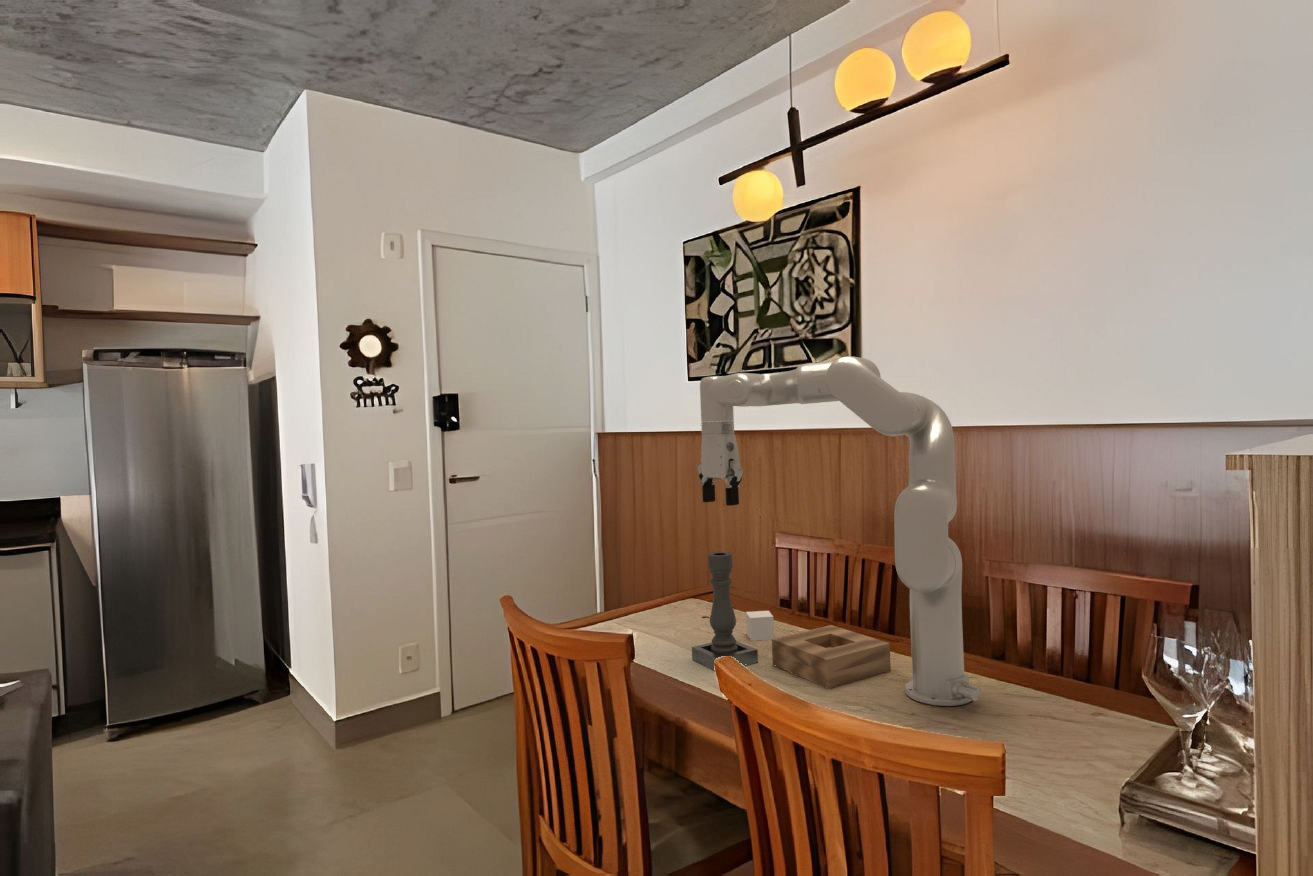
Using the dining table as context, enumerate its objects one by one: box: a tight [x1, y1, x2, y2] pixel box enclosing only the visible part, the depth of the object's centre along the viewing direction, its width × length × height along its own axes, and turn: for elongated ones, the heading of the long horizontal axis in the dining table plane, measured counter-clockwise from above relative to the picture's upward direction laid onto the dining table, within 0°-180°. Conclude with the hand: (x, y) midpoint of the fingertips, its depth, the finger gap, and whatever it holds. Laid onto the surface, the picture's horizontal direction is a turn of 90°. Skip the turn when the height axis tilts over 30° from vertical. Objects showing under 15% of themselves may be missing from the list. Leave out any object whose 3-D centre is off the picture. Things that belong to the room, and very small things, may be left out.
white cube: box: [745, 610, 775, 642], centre depth 184 cm, size 6×6×6 cm
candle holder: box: [707, 551, 738, 656], centre depth 166 cm, size 6×6×25 cm
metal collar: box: [691, 640, 759, 671], centre depth 166 cm, size 11×11×3 cm
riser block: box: [771, 624, 892, 689], centre depth 158 cm, size 18×18×6 cm
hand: (720, 503), depth 166 cm, fingers open, 9 cm apart
